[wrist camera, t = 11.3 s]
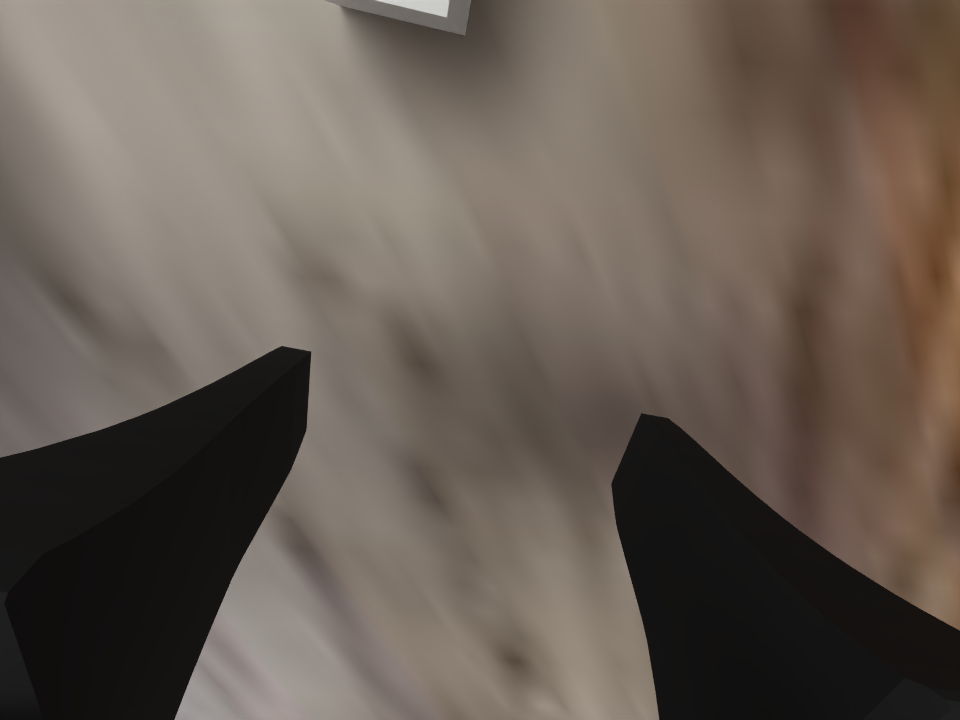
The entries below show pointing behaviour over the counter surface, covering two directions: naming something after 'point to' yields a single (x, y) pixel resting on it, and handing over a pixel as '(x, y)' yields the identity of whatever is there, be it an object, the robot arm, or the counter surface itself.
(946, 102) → the counter surface
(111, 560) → the robot arm
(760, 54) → the counter surface
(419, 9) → the plug
